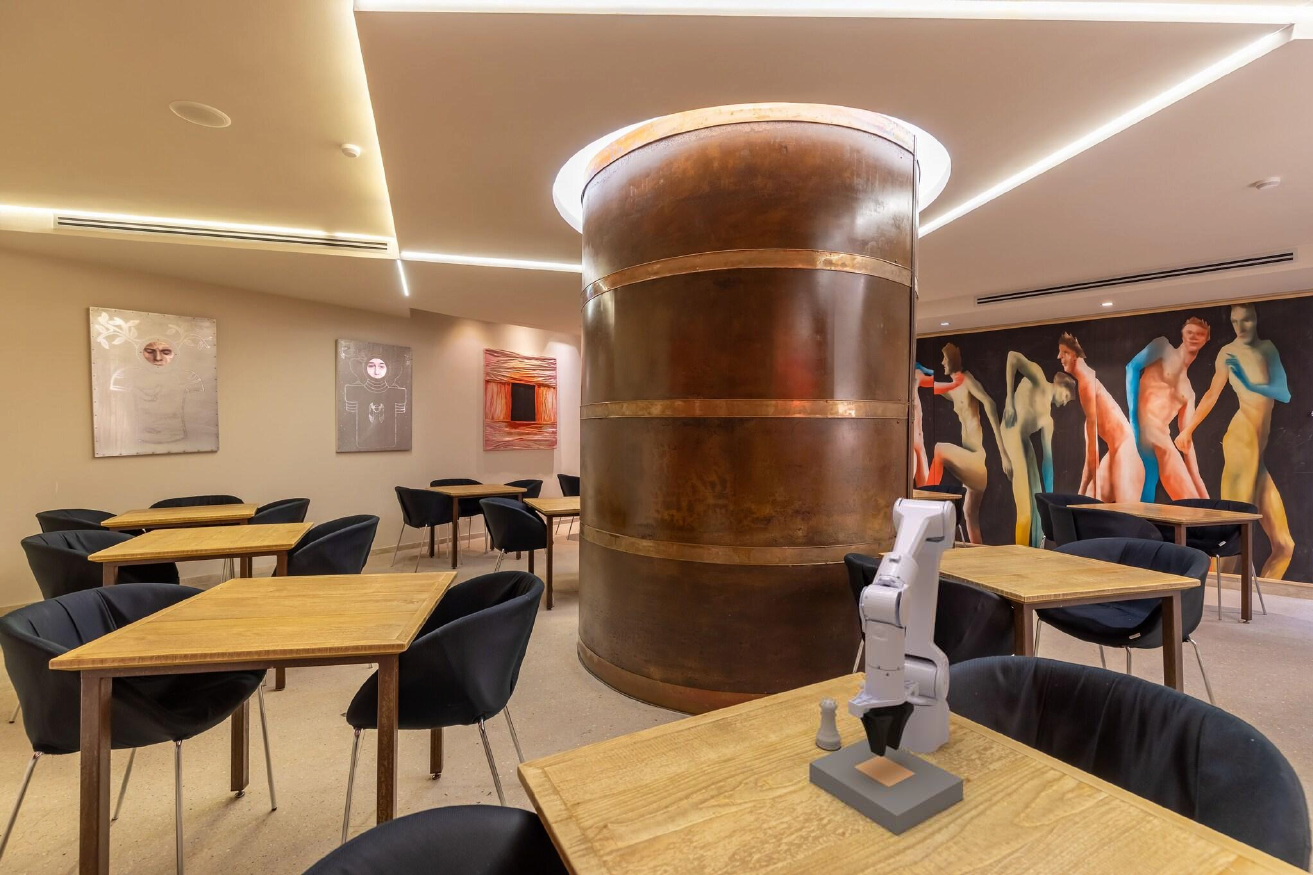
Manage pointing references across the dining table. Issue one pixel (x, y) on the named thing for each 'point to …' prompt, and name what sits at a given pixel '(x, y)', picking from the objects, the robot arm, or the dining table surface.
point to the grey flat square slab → (886, 785)
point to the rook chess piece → (828, 726)
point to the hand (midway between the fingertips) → (884, 750)
